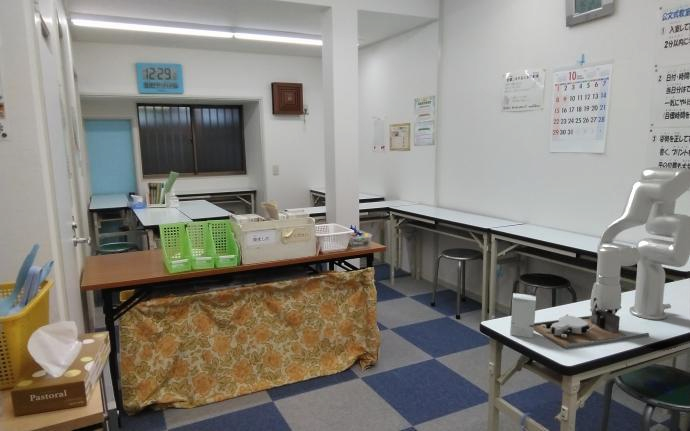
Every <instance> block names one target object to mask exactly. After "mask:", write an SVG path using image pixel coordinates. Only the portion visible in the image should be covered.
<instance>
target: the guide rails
mask: <svg viewBox="0 0 690 431" xmlns="http://www.w3.org/2000/svg"><path fill="white" fill-rule="evenodd" d="M591 317H592V315H586V316H578V318H581V319H588V318H591ZM556 322H559V319H554V320H548V321H540V322H534V326H536V325H542V324H546V323H556ZM647 337H650V332H644V333H643V332H642V333H636V334H631V335H627V336H622V337H616V338H609V339H602V340H595V341H589V342H582V343H575V344H569V345H563V349H564V350H567V349H574V348H583V347H586V346H594V345H595V346H596V345H601V344H607V343H613V342H621V341H627V340H634V339H639V338H647Z"/></svg>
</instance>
